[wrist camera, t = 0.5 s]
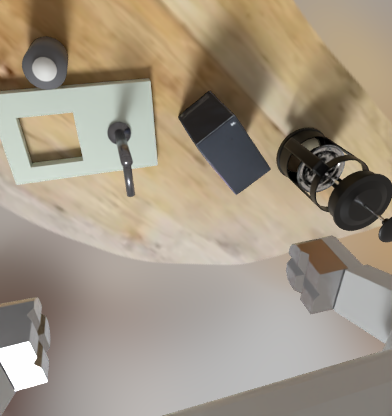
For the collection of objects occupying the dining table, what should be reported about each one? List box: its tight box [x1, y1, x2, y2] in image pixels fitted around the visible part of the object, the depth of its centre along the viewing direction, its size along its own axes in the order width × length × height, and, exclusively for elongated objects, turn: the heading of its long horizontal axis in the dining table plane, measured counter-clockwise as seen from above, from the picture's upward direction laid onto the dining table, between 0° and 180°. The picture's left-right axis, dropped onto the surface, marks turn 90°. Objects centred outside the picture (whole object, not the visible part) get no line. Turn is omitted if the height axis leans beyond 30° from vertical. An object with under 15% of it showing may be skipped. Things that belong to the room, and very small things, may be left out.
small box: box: [178, 91, 271, 195], centre depth 51 cm, size 11×6×10 cm, turn 36°
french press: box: [277, 128, 392, 242], centre depth 52 cm, size 12×9×23 cm
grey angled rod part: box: [107, 122, 135, 197], centre depth 47 cm, size 7×3×10 cm, turn 1°
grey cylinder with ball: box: [22, 37, 68, 90], centre depth 41 cm, size 4×4×8 cm
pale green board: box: [0, 78, 158, 185], centre depth 49 cm, size 12×20×2 cm, turn 91°
